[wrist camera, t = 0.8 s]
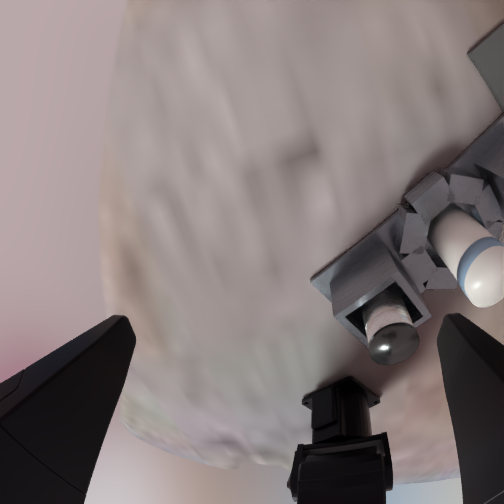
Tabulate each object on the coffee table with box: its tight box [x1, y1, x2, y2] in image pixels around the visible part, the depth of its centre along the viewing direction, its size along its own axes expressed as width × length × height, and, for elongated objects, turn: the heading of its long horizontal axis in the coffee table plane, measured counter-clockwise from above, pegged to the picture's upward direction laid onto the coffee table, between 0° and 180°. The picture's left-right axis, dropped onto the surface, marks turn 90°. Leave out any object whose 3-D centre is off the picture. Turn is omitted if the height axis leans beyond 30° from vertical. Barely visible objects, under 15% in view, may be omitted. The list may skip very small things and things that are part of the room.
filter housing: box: [310, 113, 504, 349], centre depth 17 cm, size 8×21×4 cm, turn 137°
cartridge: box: [427, 204, 504, 308], centre depth 15 cm, size 4×4×7 cm
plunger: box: [361, 286, 419, 365], centre depth 17 cm, size 3×3×4 cm
